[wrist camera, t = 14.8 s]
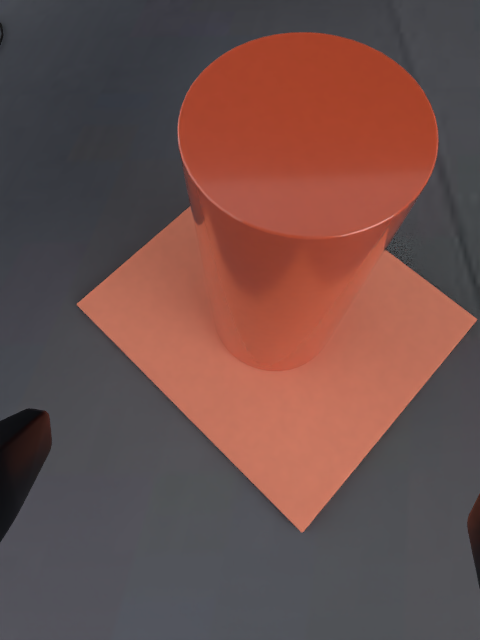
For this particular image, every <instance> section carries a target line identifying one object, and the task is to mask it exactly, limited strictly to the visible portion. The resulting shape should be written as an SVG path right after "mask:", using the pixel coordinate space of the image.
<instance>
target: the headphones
mask: <svg viewBox="0 0 480 640" xmlns="http://www.w3.org/2000/svg"><path fill="white" fill-rule="evenodd" d="M0 28H1V32H2V35H1V38H0V45H1V42H2V38H3V29H2V25H1V23H0Z"/></svg>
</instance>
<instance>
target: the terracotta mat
mask: <svg viewBox="0 0 480 640" xmlns="http://www.w3.org/2000/svg"><path fill="white" fill-rule="evenodd" d="M77 306H78V307H79V308H80V309H81V310H82V311H83V312H84V313H85V314H86V315H87V316H88V317H89V318H90V319H91V320H92V321H93V322H94V323H95V324H96V325H97V326H98V327H99V328H100V329H101V330H102V331H103V332H104V333H105V334H106V335H107V336H108V337H109V338H110V339H111V340H112V341H113V342H114V343H115V344H116V345H117V346H118V347H119V348H120V349H121V350H122V351H123V352H124V353H125V354H126V355H127V356H128V357H129V358H130V359H131V360H132V361H133V362H134V363H135V364H136V365H137V366H138V367H139V368H140V369H141V370H142V371H143V372H144V373H145V374H146V375H147V377H148V378H149V379H150V380H151V381H152V382H153V383H154V384H155V385H156V386H157V387H158V388H159V389H160V390H161V391H162V392H163V393H164V394H165V395H166V396H167V397H168V398H169V399H170V400H171V401H172V402H173V403H174V404H175V405H176V406H177V407H178V408H179V409H180V410H181V411H182V412H183V413H184V414H185V415H186V416H187V417H188V418H189V419H190V420H191V421H192V422H193V423H194V424H195V425H196V426H197V427H198V428H199V429H200V430H201V431H202V432H203V433H204V434H205V435H206V436H207V437H208V438H209V439H210V440H211V441H212V442H213V443H214V444H215V445H216V446H217V447H218V448H219V449H220V450H221V451H222V452H223V453H224V454H225V455H226V456H227V457H228V458H229V460H230V461H231V462H232V463H233V464H234V465H235V466H236V467H237V468H238V469H239V470H240V471H241V472H242V473H243V474H244V475H245V476H246V477H247V478H248V479H249V480H250V481H251V482H252V483H253V484H254V485H255V486H256V487H257V488H258V489H259V490H260V491H261V492H262V493H263V494H264V495H265V496H266V497H267V498H268V499H269V500H270V501H271V502H272V503H273V504H274V505H275V506H276V507H277V508H278V509H279V510H280V511H281V512H282V513H283V514H284V515H285V516H286V517H287V518H288V519H289V520H290V521H291V522H292V523H293V524H294V525H295V526H296V527H297V528H298V529H299V530H300V531H301V532H302V533H303V532H304V531H305V529H306V528H307V527H308V526H309V524H310V523H311V522H312V521H313V520H314V518H315V517H316V516H317V515H318V513H319V512H320V511H321V510H322V509H323V507H324V506H325V505H326V504H327V502H328V501H329V500H330V499H331V498H332V496H333V495H334V494H335V493H336V492H337V490H338V489H339V488H340V487H341V485H342V484H343V483H344V482H345V481H346V479H347V478H348V477H349V476H350V474H351V473H352V472H353V471H354V470H355V468H356V467H357V466H358V465H359V463H360V462H361V461H362V460H363V459H364V457H365V456H366V455H367V454H368V453H369V451H370V450H371V449H372V448H373V446H374V445H375V444H376V443H377V442H378V440H379V439H380V438H381V437H382V435H383V434H384V433H385V432H386V431H387V429H388V428H389V427H390V426H391V424H392V423H393V422H394V421H395V420H396V418H397V417H398V416H399V415H400V414H401V412H402V411H403V410H404V409H405V407H406V406H407V405H408V404H409V403H410V401H411V400H412V399H413V398H414V396H415V395H416V394H417V393H418V392H419V390H420V389H421V388H422V387H423V385H424V384H425V383H426V382H427V381H428V379H429V378H430V377H431V376H432V374H433V373H434V372H435V371H436V370H437V368H438V367H439V366H440V365H441V364H442V362H443V361H444V360H445V359H446V357H447V356H448V355H449V354H450V353H451V351H452V350H453V349H454V348H455V346H456V345H457V344H458V343H459V342H460V340H461V339H462V338H463V337H464V335H465V334H466V333H467V332H468V331H469V329H470V328H471V327H472V326H473V325H474V323H475V322H476V321H477V319H476V318H475V317H474V316H472V315H471V314H470V313H468V312H467V311H466V310H465V309H463V308H462V307H461V306H459V305H458V304H457V303H455V302H454V301H453V300H451V299H450V298H449V297H447V296H446V295H445V294H443V293H442V292H441V291H439V290H438V289H437V288H435V287H434V286H433V285H431V284H430V283H429V282H428V281H426V280H425V279H424V278H422V277H421V276H420V275H418V274H417V273H416V272H414V271H413V270H412V269H410V268H409V267H408V266H406V265H405V264H404V263H402V262H401V261H400V260H398V259H397V258H396V257H394V256H393V255H392V254H391V253H389V252H388V251H387V250H385V251H384V253H383V255H382V256H381V258H380V259H379V261H378V263H377V264H376V266H375V267H374V269H373V271H372V272H371V274H370V275H369V277H368V279H367V280H366V282H365V283H364V285H363V287H362V288H361V290H360V291H359V293H358V295H357V296H356V298H355V299H354V301H353V303H352V304H351V306H350V307H349V309H348V311H347V312H346V314H345V315H344V317H343V319H342V320H341V322H340V323H339V325H338V327H337V328H336V330H335V331H334V333H333V335H332V336H331V338H330V339H329V341H328V343H327V344H326V345H325V347H324V348H323V350H322V351H321V352H320V353H319V354H318V355H317V356H316V357H314V358H313V359H312V360H311V361H309V362H307V363H306V364H304V365H302V366H299V367H297V368H294V369H290V370H285V371H266V370H261V369H257V368H254V367H251V366H249V365H246V364H245V363H243V362H241V361H240V360H238V359H237V358H235V357H234V356H233V355H232V354H231V353H230V352H229V351H228V350H227V349H226V348H225V346H224V345H223V344H222V342H221V340H220V339H219V336H218V334H217V332H216V328H215V325H214V320H213V315H212V310H211V305H210V300H209V295H208V290H207V286H206V281H205V276H204V271H203V266H202V261H201V256H200V251H199V246H198V241H197V236H196V231H195V226H194V221H193V216H192V211H191V206H190V207H189V208H188V209H186V210H185V211H184V212H183V213H182V214H181V215H179V216H178V217H177V218H176V219H175V220H174V221H172V222H171V223H170V224H169V225H168V226H167V227H166V228H164V229H163V230H162V231H161V232H160V233H159V234H157V235H156V236H155V237H154V238H153V239H152V240H150V241H149V242H148V243H147V244H146V245H145V246H144V247H142V248H141V249H140V250H139V251H138V252H137V253H135V254H134V255H133V256H132V257H131V258H130V259H128V260H127V261H126V262H125V263H124V264H123V265H121V266H120V267H119V268H118V269H117V270H116V271H115V272H113V273H112V274H111V275H110V276H109V277H108V278H106V279H105V280H104V281H103V282H102V283H101V284H99V285H98V286H97V287H96V288H95V289H94V290H92V291H91V292H90V293H89V294H88V295H87V296H86V297H84V298H83V299H82V300H81V301H80V302H79V303H77Z"/></svg>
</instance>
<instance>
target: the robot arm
mask: <svg viewBox="0 0 480 640" xmlns="http://www.w3.org/2000/svg"><path fill="white" fill-rule="evenodd" d="M51 445H52V437H51V428H50V418H49V414H48V413H47V412H46V411H43V410H37V409H25V410H23V411H21V412H19V413H16V414H14V415H12V416H10V417H8V418H6V419H4V420H1V421H0V542H1V540H2V539H3V537H4V536H5V534H6V533H7V531H8V530H9V528H10V526H11V525H12V523H13V521H14V520H15V518H16V516H17V514H18V513H19V511H20V509H21V507H22V505H23V503H24V501H25V499H26V497H27V495H28V493H29V491H30V489H31V487H32V485H33V483H34V481H35V480H36V478H37V476H38V474H39V472H40V470H41V468H42V466H43V464H44V462H45V460H46V458H47V456H48V454H49V452H50V449H51ZM467 527H468V533H469V538H470V543H471V548H472V553H473V558H474V563H475V567H476V572H477V577H478V582H479V587H480V494H479V496H478V498H477V500H476V502H475V504H474V506H473V508H472V510H471V512H470V514H469V517H468V522H467Z"/></svg>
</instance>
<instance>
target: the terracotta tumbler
mask: <svg viewBox="0 0 480 640" xmlns="http://www.w3.org/2000/svg"><path fill="white" fill-rule="evenodd" d="M177 137H178V145H179V152H180V157H181V161H182V166H183V171H184V176H185V181H186V186H187V191H188V196H189V201H190V206H191V211H192V216H193V221H194V226H195V231H196V236H197V241H198V246H199V251H200V256H201V261H202V266H203V271H204V276H205V281H206V286H207V290H208V295H209V300H210V305H211V310H212V315H213V320H214V325H215V328H216V332H217V334H218V336H219V339H220V340H221V342H222V344H223V345H224V346H225V348H226V349H227V350H228V351H229V352H230V353H231V354H232V355H233V356H234V357H235V358H237V359H238V360H240V361H241V362H243V363H245V364H246V365H249V366H251V367H254V368H257V369H261V370H266V371H285V370H290V369H294V368H297V367H299V366H302V365H304V364H306V363H307V362H309V361H311V360H312V359H313V358H314V357H316V356H317V355H318V354H319V353H320V352H321V351H322V350H323V348H324V347H325V345H326V344H327V343H328V341H329V339H330V338H331V336H332V335H333V333H334V331H335V330H336V328H337V327H338V325H339V323H340V322H341V320H342V319H343V317H344V315H345V314H346V312H347V311H348V309H349V307H350V306H351V304H352V303H353V301H354V299H355V298H356V296H357V295H358V293H359V291H360V290H361V288H362V287H363V285H364V283H365V282H366V280H367V279H368V277H369V275H370V274H371V272H372V271H373V269H374V267H375V266H376V264H377V263H378V261H379V259H380V258H381V256H382V255H383V253H384V251H385V250H386V248H387V247H388V245H389V243H390V242H391V240H392V239H393V237H394V235H395V234H396V232H397V231H398V229H399V227H400V226H401V224H402V223H403V221H404V219H405V218H406V216H407V215H408V213H409V211H410V210H411V208H412V207H413V205H414V203H415V202H416V200H417V199H418V197H419V195H420V194H421V192H422V191H423V189H424V187H425V186H426V184H427V182H428V180H429V178H430V176H431V174H432V172H433V169H434V166H435V163H436V159H437V153H438V145H439V142H438V127H437V122H436V117H435V114H434V111H433V109H432V106H431V104H430V102H429V100H428V98H427V96H426V94H425V93H424V91H423V90H422V88H421V87H420V86H419V84H418V83H417V82H416V80H415V79H414V78H413V77H412V76H411V75H410V74H409V73H408V72H407V71H406V70H405V69H404V68H403V67H401V66H400V65H399V64H398V63H396V62H395V61H394V60H392V59H391V58H389V57H388V56H386V55H385V54H383V53H381V52H380V51H378V50H376V49H374V48H372V47H370V46H368V45H365V44H362V43H360V42H357V41H354V40H351V39H348V38H344V37H340V36H335V35H330V34H324V33H312V32H292V33H283V34H275V35H270V36H266V37H261V38H258V39H255V40H252V41H249V42H246V43H244V44H242V45H239V46H237V47H235V48H233V49H231V50H230V51H228V52H226V53H224V54H223V55H221V56H220V57H219V58H217V59H216V60H215V61H213V62H212V63H211V64H210V65H209V66H208V67H206V68H205V69H204V70H203V71H202V72H201V73H200V75H199V76H198V77H197V79H196V80H195V81H194V82H193V84H192V85H191V87H190V89H189V91H188V92H187V94H186V96H185V99H184V101H183V104H182V106H181V110H180V114H179V119H178V131H177Z"/></svg>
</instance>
